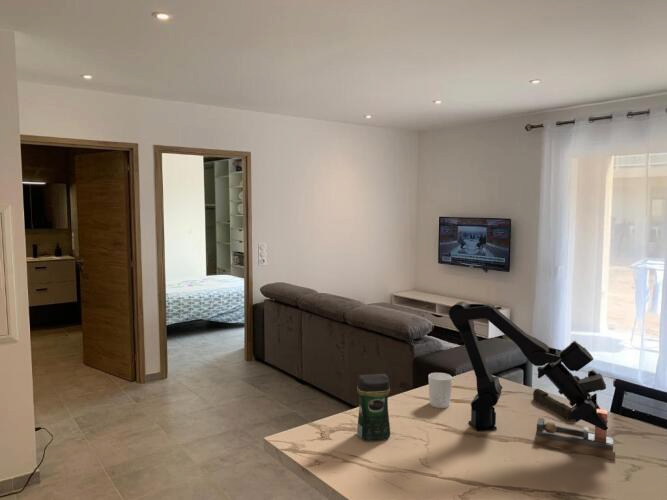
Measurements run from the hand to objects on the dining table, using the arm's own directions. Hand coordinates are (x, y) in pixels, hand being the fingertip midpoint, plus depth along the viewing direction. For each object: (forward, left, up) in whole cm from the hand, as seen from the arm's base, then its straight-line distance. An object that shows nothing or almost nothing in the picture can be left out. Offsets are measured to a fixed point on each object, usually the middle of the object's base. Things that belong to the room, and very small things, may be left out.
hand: (606, 426), depth 137 cm
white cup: (-32, +40, -7) cm, 52 cm away
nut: (-11, +9, -5) cm, 15 cm away
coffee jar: (-61, +21, -7) cm, 65 cm away
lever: (-2, +1, -5) cm, 5 cm away
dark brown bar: (+3, +29, -7) cm, 30 cm away
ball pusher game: (-6, +5, -7) cm, 11 cm away
